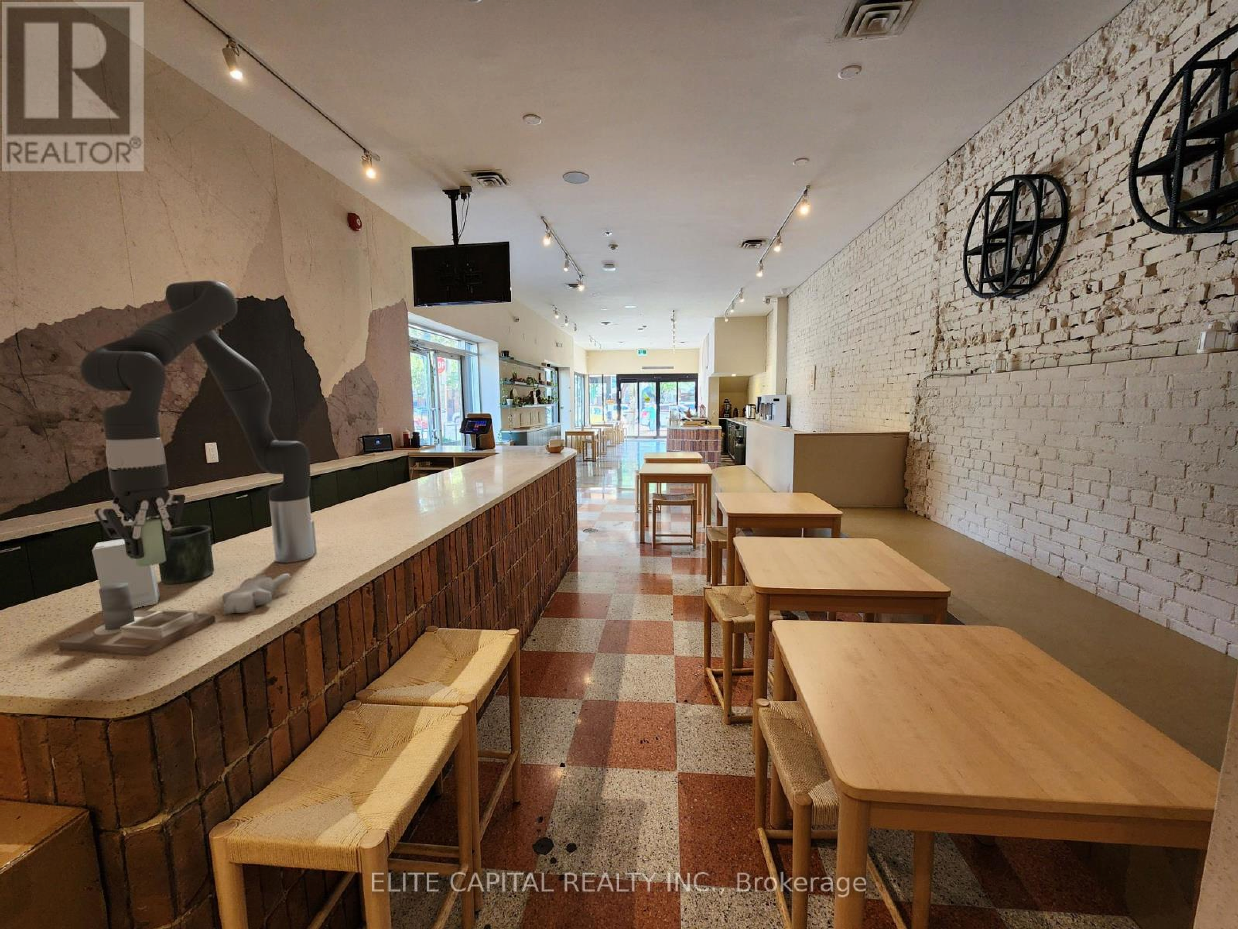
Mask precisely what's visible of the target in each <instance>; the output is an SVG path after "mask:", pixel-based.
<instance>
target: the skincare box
mask: <svg viewBox="0 0 1238 929" xmlns="http://www.w3.org/2000/svg"><path fill="white" fill-rule="evenodd" d="M91 552H92V556H93V562H94V567H95V571H96V574H97V576H96V577H97V578H98V584H99V589H100V588H102V587H104V586H108V585H112V584H117V583H129V587H130V593H131V600H132V606H133V610H134V609H139V608H143V607H142V606H144V607H148V605H149V606H153V605H156V604H158V601H159V598H160V589H159V584H158V580H157V579H158V578H157V575H156V569H155V565H150V566H137V565H136V559H132V558H130V556H128V555H127V554H126V547H125V541H124V539H122V538H118V539H112V540H108V541H101V542H97V543H96V544H95V545H94V546H93V548H92V550H91ZM138 607H139V608H138Z"/></svg>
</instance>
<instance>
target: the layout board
mask: <svg viewBox="0 0 1238 929" xmlns="http://www.w3.org/2000/svg"><path fill="white" fill-rule="evenodd" d="M98 591H99V592H98V593H99V597H100V598H99V599H100V605H101V610H102V616H103V622H104V623H102V624H99V625H96V626H93V627H92V628H91V627H90V628H88V629H86V630H84V631H81V632H79V633H77V634H73V635H71V636H68V637H65V638H64V639H62V640H59V641H57V644H58V648H59V650H66V651H76V650H77V651H78V652H92V653H102V654H103V653H104V654H119V655H131V656H145V657H146V656H148V655H151V654H153V653H155V652H157V651H158V650H161V649H163V648H165V647H167V646H170V645H172V644H174V643H175V642H177V641H179V640H181V639H183V638H185V637H188V636H190V635H191V634H193V633H196V632H197V631H199V630H202V629H203V628H205V627H207V626H209V625H212V624H214V623H215V622H216V616H215V614H210V613H209V614H208V613H198V611H197V610H186V609H185V610H184V609H183V610H182V609H168V608H167V609H166V608H162V609H160V610H142V609H140V610H139V609H136V610H134V609H133V606H132V600H131V593H130V587H129V583H117V584H112V585H108V586H104V587H102V588H100V587H99V589H98ZM79 650H80V651H79Z"/></svg>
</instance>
